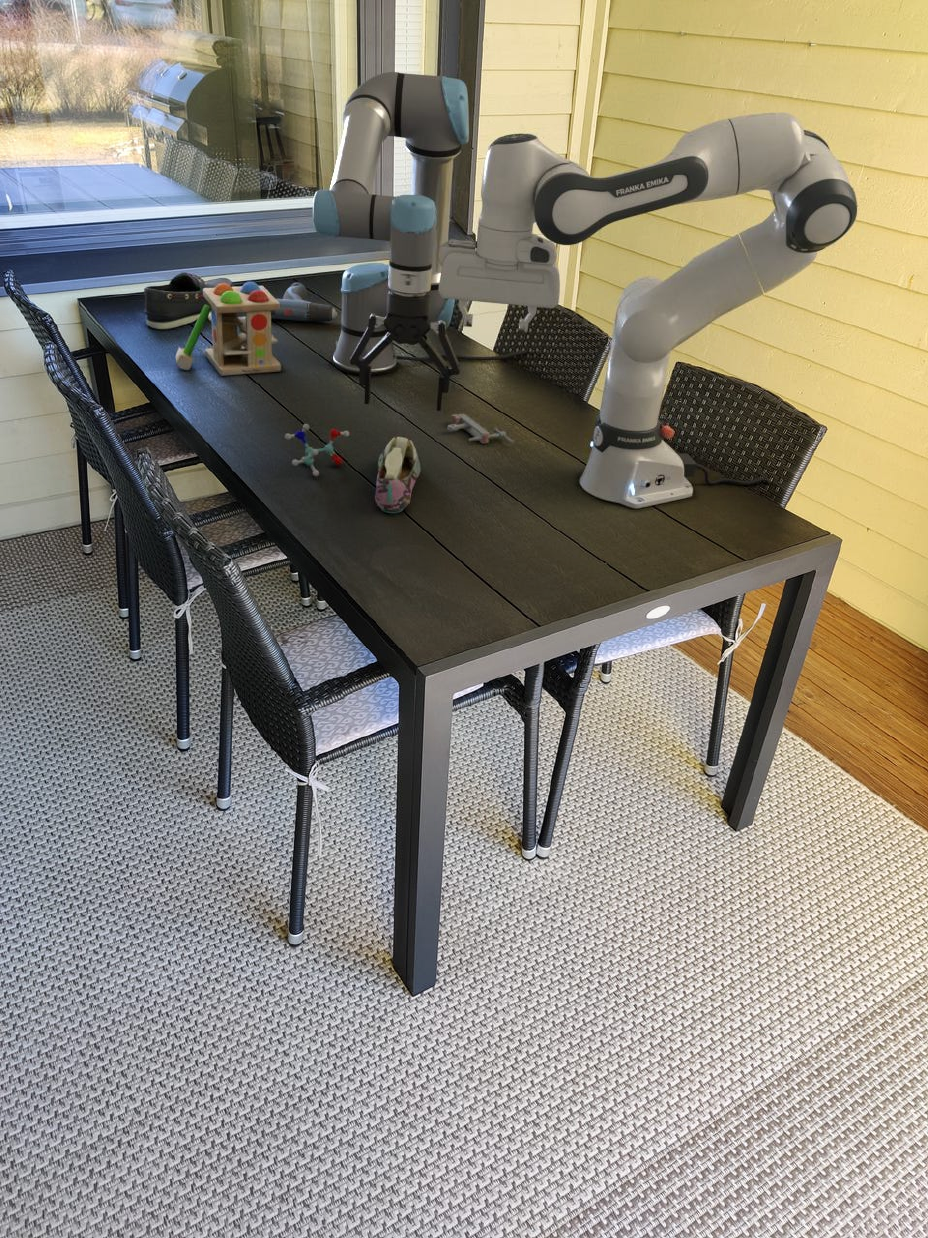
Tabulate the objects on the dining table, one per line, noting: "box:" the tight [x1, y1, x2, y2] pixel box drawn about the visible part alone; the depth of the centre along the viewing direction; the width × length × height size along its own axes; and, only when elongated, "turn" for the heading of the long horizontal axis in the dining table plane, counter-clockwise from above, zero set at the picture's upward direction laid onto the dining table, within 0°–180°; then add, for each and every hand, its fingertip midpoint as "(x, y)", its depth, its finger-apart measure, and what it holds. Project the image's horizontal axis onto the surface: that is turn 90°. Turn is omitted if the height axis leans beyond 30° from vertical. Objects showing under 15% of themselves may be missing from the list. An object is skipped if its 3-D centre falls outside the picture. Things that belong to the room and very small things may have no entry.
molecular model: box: [284, 423, 350, 477], centre depth 188 cm, size 12×10×10 cm
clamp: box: [447, 413, 515, 445], centre depth 208 cm, size 15×2×10 cm
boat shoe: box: [143, 271, 236, 330], centre depth 257 cm, size 13×33×10 cm, turn 147°
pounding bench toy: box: [174, 281, 282, 377], centre depth 225 cm, size 23×14×18 cm, turn 116°
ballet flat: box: [374, 436, 421, 514], centre depth 184 cm, size 8×24×9 cm, turn 178°
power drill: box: [271, 282, 338, 322], centre depth 265 cm, size 5×19×20 cm
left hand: (403, 405), depth 185 cm, fingers open, 13 cm apart
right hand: (495, 328), depth 167 cm, fingers open, 8 cm apart
